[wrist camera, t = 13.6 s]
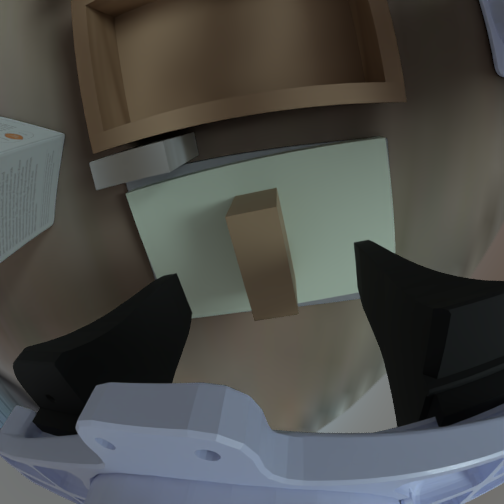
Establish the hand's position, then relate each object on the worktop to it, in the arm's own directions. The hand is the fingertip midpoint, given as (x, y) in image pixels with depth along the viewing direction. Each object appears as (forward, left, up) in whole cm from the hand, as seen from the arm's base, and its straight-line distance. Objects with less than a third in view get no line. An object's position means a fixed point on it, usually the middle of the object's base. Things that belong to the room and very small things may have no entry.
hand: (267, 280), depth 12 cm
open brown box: (0, -10, -5) cm, 11 cm away
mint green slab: (0, 0, -4) cm, 4 cm away
